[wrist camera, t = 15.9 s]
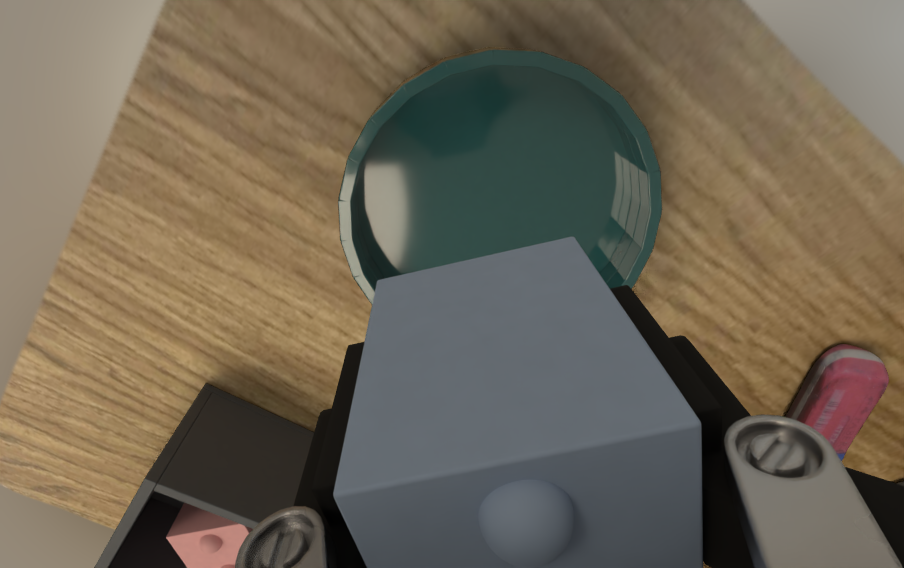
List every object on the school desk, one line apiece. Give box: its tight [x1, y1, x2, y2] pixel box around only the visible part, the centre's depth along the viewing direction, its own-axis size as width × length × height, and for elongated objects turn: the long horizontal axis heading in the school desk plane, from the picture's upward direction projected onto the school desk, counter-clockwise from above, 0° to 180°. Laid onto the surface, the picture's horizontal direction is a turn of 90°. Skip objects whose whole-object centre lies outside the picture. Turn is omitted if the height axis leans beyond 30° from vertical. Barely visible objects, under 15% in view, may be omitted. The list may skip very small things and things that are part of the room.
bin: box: [94, 384, 314, 568], centre depth 32 cm, size 11×11×8 cm
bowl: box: [338, 47, 662, 304], centre depth 26 cm, size 15×15×3 cm
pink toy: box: [166, 503, 253, 568], centre depth 32 cm, size 4×4×7 cm
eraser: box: [786, 344, 889, 461], centre depth 33 cm, size 11×4×2 cm, turn 171°
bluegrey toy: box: [333, 237, 703, 568], centre depth 10 cm, size 4×4×7 cm
